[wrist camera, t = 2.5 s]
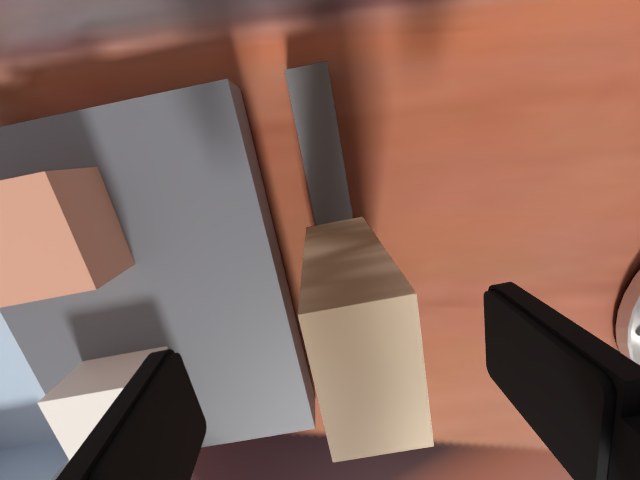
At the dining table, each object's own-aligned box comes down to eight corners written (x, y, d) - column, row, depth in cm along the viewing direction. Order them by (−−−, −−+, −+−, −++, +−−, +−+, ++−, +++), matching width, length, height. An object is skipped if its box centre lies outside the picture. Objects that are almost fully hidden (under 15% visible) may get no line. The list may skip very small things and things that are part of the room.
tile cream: (167, 345, 17) (138, 385, 15) (194, 415, 19) (172, 463, 16) (82, 361, 18) (37, 402, 15) (115, 429, 19) (79, 479, 16)
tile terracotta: (97, 166, 15) (44, 171, 12) (135, 264, 16) (96, 289, 13) (-3, 187, 15) (-79, 196, 12) (43, 281, 16) (-15, 310, 13)
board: (240, 88, 16) (227, 78, 14) (315, 397, 22) (315, 428, 19) (-33, 146, 17) (-91, 145, 14) (109, 432, 22) (84, 466, 20)
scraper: (335, 69, 16) (374, -80, 6) (385, 382, 22) (451, 603, 11) (278, 80, 16) (212, -43, 6) (342, 389, 22) (369, 615, 11)
